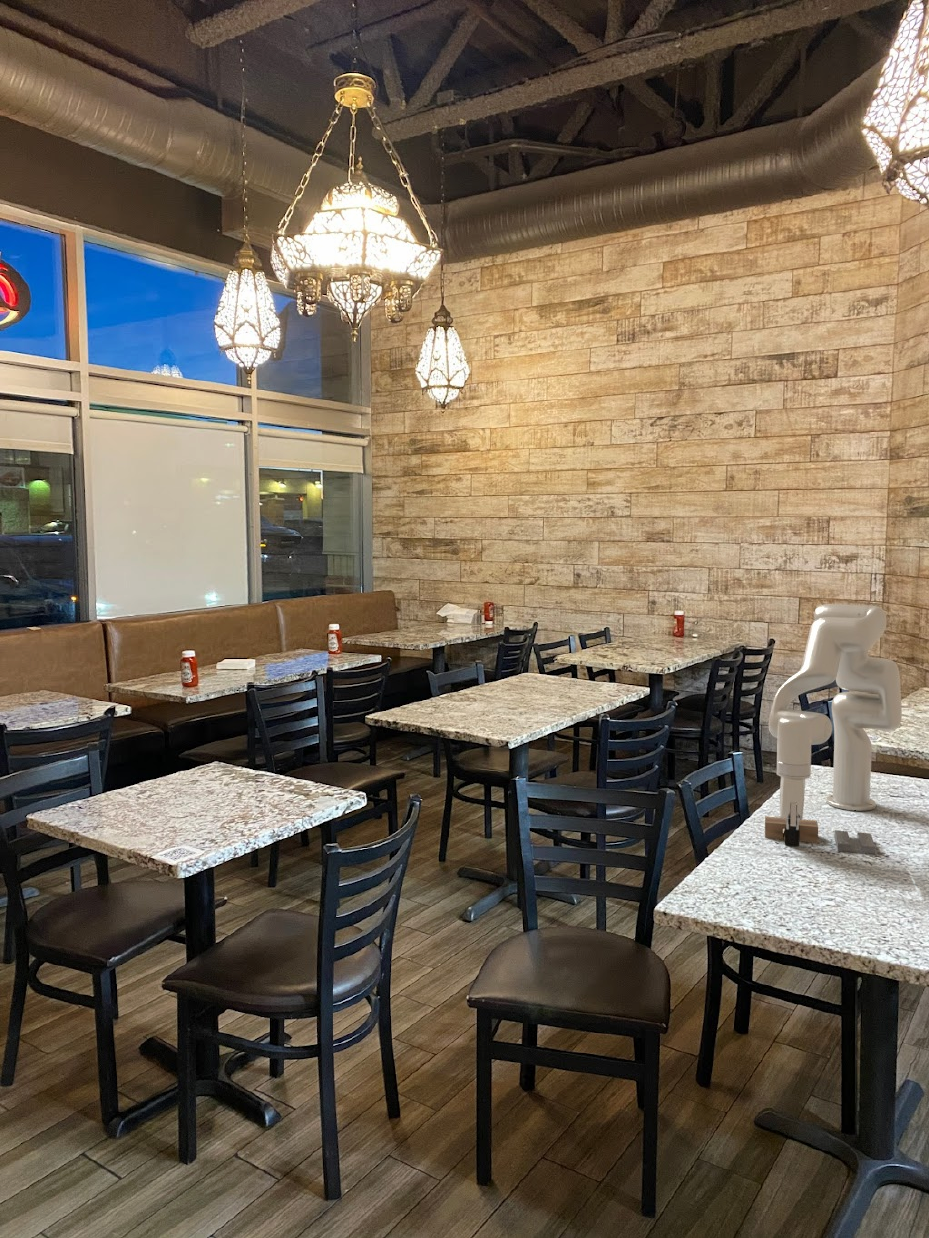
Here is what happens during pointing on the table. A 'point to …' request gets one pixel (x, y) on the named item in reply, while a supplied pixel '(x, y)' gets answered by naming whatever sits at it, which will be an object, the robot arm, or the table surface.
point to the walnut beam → (777, 824)
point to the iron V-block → (855, 843)
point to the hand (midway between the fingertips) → (791, 844)
